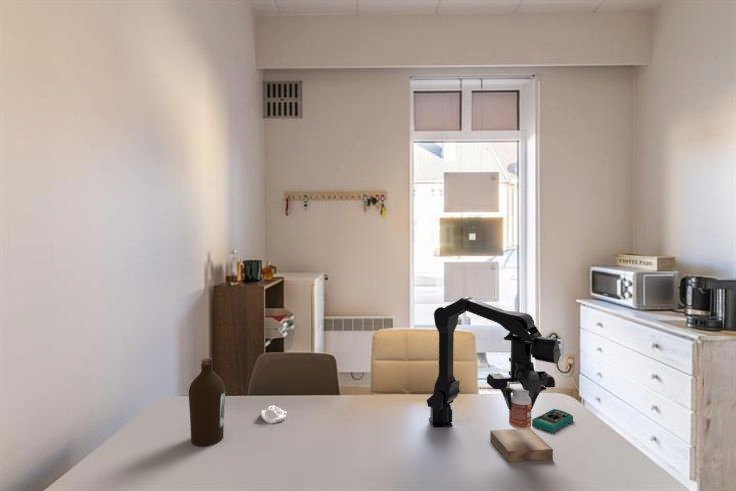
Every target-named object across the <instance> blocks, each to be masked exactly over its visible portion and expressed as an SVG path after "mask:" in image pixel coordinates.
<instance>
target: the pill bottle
mask: <svg viewBox="0 0 736 491" xmlns="http://www.w3.org/2000/svg"><path fill="white" fill-rule="evenodd" d="M511 389H512V390H513V391H512V393H511V410H509V409H508V412H509V413H508V424H509V426H510V427H512V428H513V429H519V430H527V429H530V428H531V427H532V409H531V398H530V397H529V396H528V395H529V391H526V390H524V389H523V387H522V385H521V386H520V385H519V386H518V385H515V386H513V387H512V388H511ZM531 429H532V428H531Z"/></svg>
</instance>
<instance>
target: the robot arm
mask: <svg viewBox="0 0 736 491" xmlns="http://www.w3.org/2000/svg"><path fill="white" fill-rule="evenodd" d="M466 312H468V313H471V314H474V315H476V316H479V317H480V318H484V319H487V320H488V321H491V322H493V323H497V324H498V325H500V326H501V327H502V328H503V329H505V330H506V331H508V333H507V335H506V336H504V337H503V340H505V341H509V342H510V357H508V362H509V363H510V370H508V376H504V375H503V374H501V373H488V375H487V377H486V384H488V385H489V386H490V387H491V388H492V389H494V390H499V391H500V392H501V393H502V396H503V399H504V401H505V404H506V406H507V409H508V411H509V410H511V395H512V394H513V393H512V391H513V390H512V388H511V385H518V384H519V385H521V387H523V389H524V390H526V391H529V395H528V396H529V397H530V398H531V410H533V408H534V406H535V403H536V401H537V398H538V396H539V394H540V393H542V392H543V391H546V390H547V389H548V388H556V379H555V378H554V377H553V376H552V375H550V374H549V373H547V372H546V371H545V370H542V371H541V370H539V371H538V370H537V371H536V370H535V364H534V362H533V361H532V358H534V360H536V361H538V362H546V363H550V364H556V365H557V364H558V363H559V362H560V357H561V349H560V345H559V342H558V341H559V340H558V339H557V338H553V337H551V338H549V337H544V336H542V334H541V332H540V331H539V329H538V327H537V326H536V325H535V320H534V318H533V316H532V315H531V314H529V313H526V312H521V311H513V310H512V311H511V310H504V309H502V308H500V307H498V306H497V307H496V306H494V305H491V304H488V303H486V302H482V301H480V300H477V299H474V298H473V297H471V296H466V297H461V298H459V299H458V300H456V301H455V302H452V303H450V304H449V305H444V306H440V307H438V308H436V309H435V310H434V312H433V318H434V320H433V321H434V326H435V328H436V330H437V332H438V375H437V378H436V380H435V383H434V388H433V394H432V395H431V396H429V398H427V399H426V403H427V407H428V408H430V414H429V415H430V416H429V417H428V420H429V421H430V423H431V425H432V427H433V428H443V427H453V423H452V422H453V408H452V406H451V404H453V403H454V400H455V399H457V398H458V395H459V394H460V393H461V390H460V380H457V379H456V378H455V376H454V340H455V339H454V338H455V337H454V333H455V330H456V328H457V325H458V322H459V316H461V315H463V314H465V313H466Z"/></svg>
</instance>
